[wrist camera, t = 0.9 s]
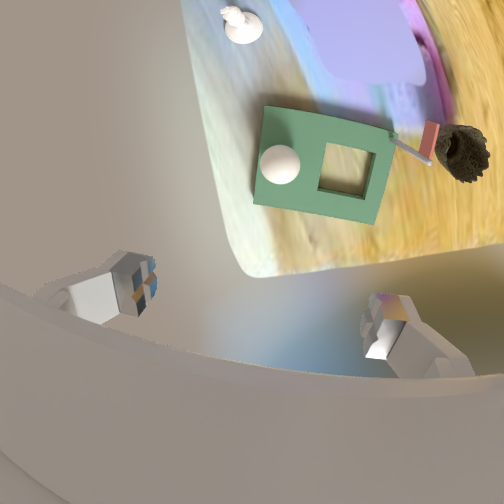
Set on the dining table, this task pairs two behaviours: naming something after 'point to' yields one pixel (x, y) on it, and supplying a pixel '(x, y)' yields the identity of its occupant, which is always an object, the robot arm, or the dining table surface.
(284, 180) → the ball
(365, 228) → the dining table surface
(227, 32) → the chess piece
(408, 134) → the dining table surface
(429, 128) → the putting mat
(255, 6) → the dining table surface
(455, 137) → the scalloped clay bowl
